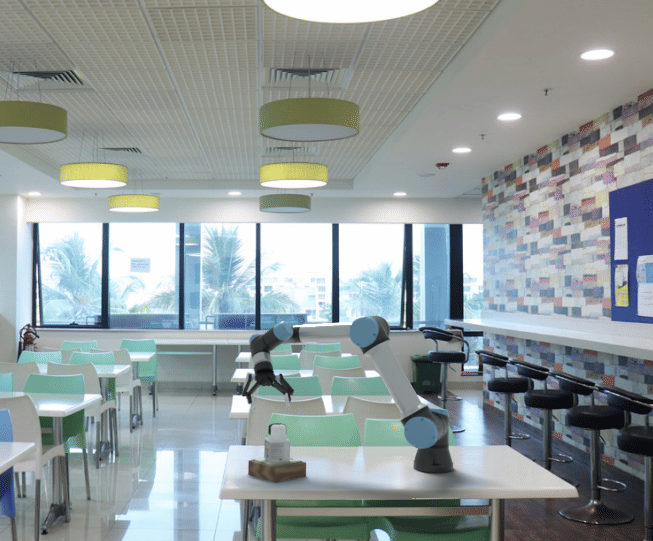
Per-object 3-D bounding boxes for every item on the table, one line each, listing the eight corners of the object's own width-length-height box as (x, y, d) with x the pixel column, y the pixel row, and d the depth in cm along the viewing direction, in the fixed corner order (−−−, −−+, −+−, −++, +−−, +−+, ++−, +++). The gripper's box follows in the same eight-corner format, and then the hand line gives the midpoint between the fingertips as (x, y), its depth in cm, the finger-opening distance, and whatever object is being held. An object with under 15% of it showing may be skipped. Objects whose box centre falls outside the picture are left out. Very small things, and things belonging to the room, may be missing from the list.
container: (264, 458, 252) (264, 422, 252) (284, 457, 254) (284, 421, 255) (269, 463, 244) (269, 426, 245) (290, 461, 247) (290, 425, 248)
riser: (306, 476, 248) (306, 461, 248) (276, 482, 238) (276, 466, 239) (278, 468, 259) (278, 453, 260) (248, 474, 250) (248, 459, 250)
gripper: (291, 371, 281) (300, 414, 266) (230, 372, 273) (237, 416, 258) (294, 359, 276) (305, 402, 261) (233, 360, 268) (240, 404, 253)
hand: (271, 409), depth 260 cm, fingers open, 13 cm apart
